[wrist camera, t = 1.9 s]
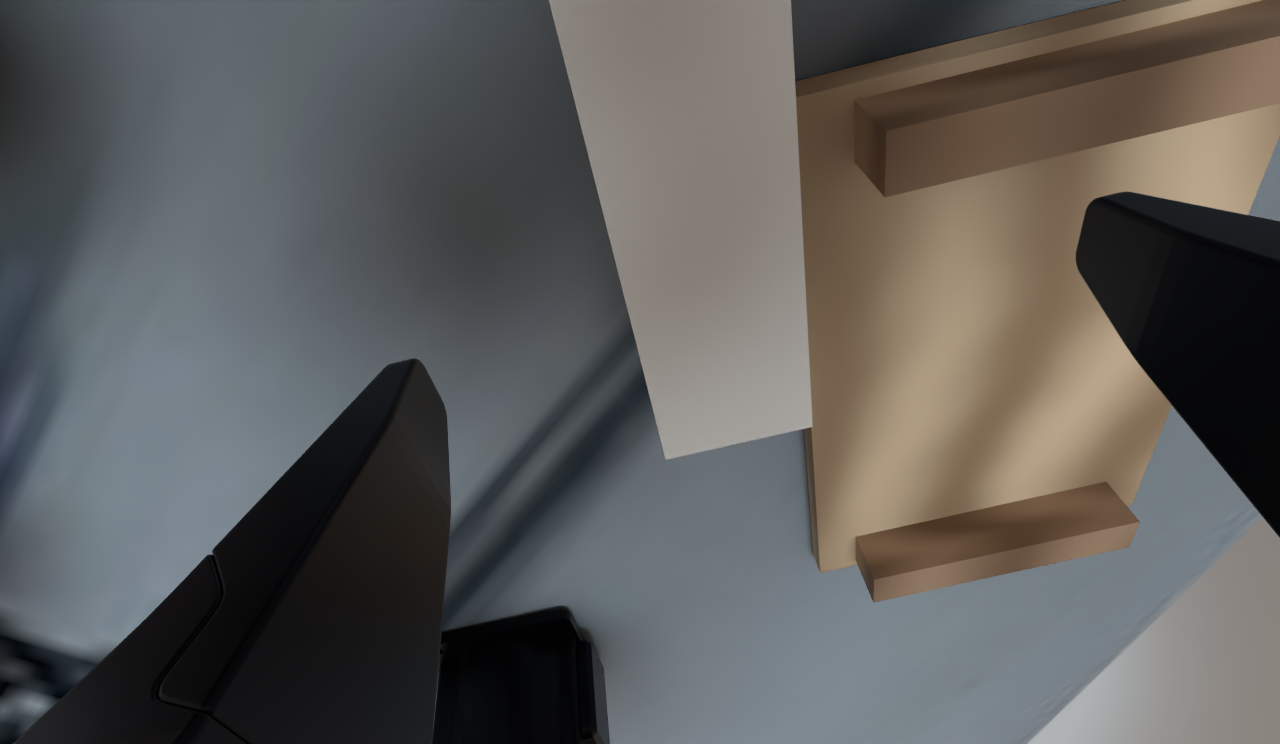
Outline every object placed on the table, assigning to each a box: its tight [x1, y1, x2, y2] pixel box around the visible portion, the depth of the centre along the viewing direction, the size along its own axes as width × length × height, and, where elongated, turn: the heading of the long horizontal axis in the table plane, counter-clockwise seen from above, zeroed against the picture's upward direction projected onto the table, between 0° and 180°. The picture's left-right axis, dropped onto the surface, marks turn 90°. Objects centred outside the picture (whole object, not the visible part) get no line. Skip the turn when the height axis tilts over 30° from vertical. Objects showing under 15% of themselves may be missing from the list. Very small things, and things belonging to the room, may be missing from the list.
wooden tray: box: [795, 0, 1280, 602], centre depth 22 cm, size 13×20×3 cm, turn 12°
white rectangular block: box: [549, 0, 813, 460], centre depth 15 cm, size 4×14×6 cm, turn 11°
